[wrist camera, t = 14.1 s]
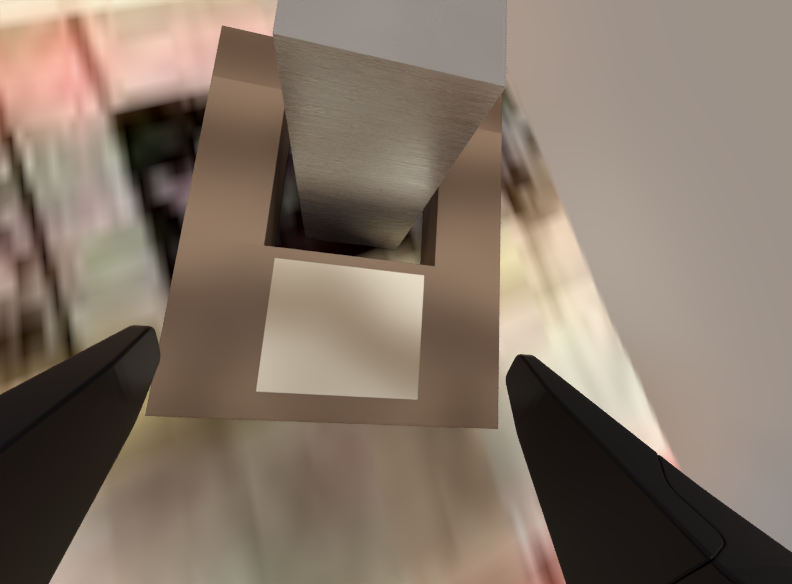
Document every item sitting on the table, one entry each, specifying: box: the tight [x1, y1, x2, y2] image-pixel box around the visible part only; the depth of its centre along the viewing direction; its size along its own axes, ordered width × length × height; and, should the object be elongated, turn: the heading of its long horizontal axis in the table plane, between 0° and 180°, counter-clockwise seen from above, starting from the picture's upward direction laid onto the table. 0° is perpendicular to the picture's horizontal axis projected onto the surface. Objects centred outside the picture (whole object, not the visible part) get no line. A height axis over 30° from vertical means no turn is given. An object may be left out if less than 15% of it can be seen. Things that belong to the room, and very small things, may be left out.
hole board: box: [145, 26, 502, 429], centre depth 16 cm, size 16×13×3 cm
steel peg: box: [273, 0, 507, 250], centre depth 12 cm, size 4×4×11 cm
